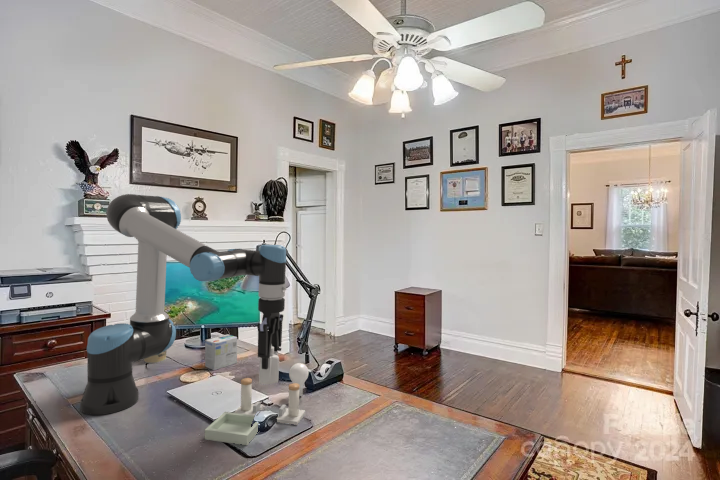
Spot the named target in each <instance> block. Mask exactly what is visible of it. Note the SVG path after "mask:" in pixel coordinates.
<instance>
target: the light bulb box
mask: <svg viewBox="0 0 720 480" xmlns="http://www.w3.org/2000/svg"><path fill="white" fill-rule="evenodd" d="M204 347H205V348H204V349H205V350H204V357H205V358H204V367H205V368H208V369H210V370H213V371H216V370H220V369H223V368H225V367H229V366H232V365H235V364H237V363H238V337H237V336H234V335H232V334H228V333H226V334H224V335H223V334H222V335H220V336H216V337H213V338H208V339H205V340H204Z"/></svg>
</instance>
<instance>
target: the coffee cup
mask: <svg viewBox="0 0 720 480" xmlns="http://www.w3.org/2000/svg"><path fill="white" fill-rule="evenodd" d="M167 351H168V350H166V351H164V352H162V353H160V354H158V355H154V356H151V357H148V358H145V359H143V361H144V363H145V364H146V363H147V364H157V363H161V362H165V360H166V358H167Z"/></svg>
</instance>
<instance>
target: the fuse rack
mask: <svg viewBox="0 0 720 480" xmlns="http://www.w3.org/2000/svg"><path fill="white" fill-rule="evenodd" d="M252 383H253V379H252V378H250V377H245V378H241V380H240V384H241V385H240V386H241V387H240V388H241V389H240V390H241V391H240V405H239V407H238V408H236V409H235V411H233V413H239V414H247V415H255V414H256V412H257V411H259V410H261V411H262V410H263V409H264V404H261V401H258V400H257V401H256V402H255V403H252V390H253V388H252V387H253V384H252ZM299 388H300V385H299V384H297V383H293V382H292V383H289V384H288V407H287V404H282V405H281V406H280V407H279V409H278V416H277V417H276V419H277V422H280V423H279V424H284V423H289V424H288V425H291V424H294V425H293V426H299V424H300V423H301V421H302V419H303V418H304V417H305V415H306V410H305V409H300V397H299ZM300 420H301V421H300ZM298 423H299V424H298Z"/></svg>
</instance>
